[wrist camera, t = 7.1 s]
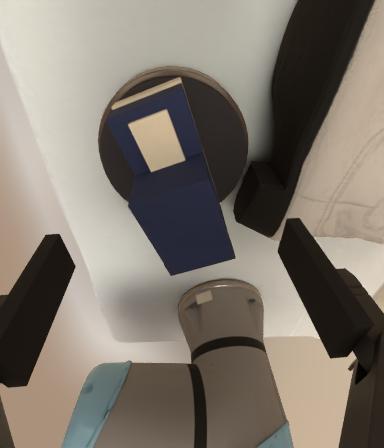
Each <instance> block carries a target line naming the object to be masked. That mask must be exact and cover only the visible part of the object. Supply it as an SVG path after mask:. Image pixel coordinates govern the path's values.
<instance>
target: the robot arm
mask: <svg viewBox="0 0 384 448" xmlns="http://www.w3.org/2000/svg"><path fill="white" fill-rule="evenodd" d="M278 254H279V256H280V258H281V260H282V262H283V264H284V266H285V268H286V270H287V272H288V274H289V276H290V278H291V280H292V282H293V284H294V286H295V288H296V290H297V292H298V294H299V296H300V298H301V300H302V302H303V304H304V306H305V308H306V310H307V312H308V314H309V316H310V318H311V321H312V323H313V325H314V327H315V329H316V331H317V333H318V335H319V337H320V339H321V341H322V343H323V345H324V347H325V349H326V351H327V353H328V355H329V357H330V358H340V357H347V356H348V355H349V354H350V353H351V352H352V351H353V352H354V354H355V356H356V357H357V359H356V360H355V361H354V362H353V363H352V364H351V365H350V367H349V368H348V370H350V371H351V370H352V369H353V368H354V369H353V375H352V379H351V385H350V390H349V395H348V401H347V406H346V411H345V417H344V422H343V428H342V433H341V438H340V443H339V448H384V313H383V312H382V311H381V309H380V308H379V307H378V305H377V304H376V303H375V301H374V300H373V299H372V298H371V296H370V295H368V292H367V291H366V290H365V288H364V287H362V285H361V283H360V282H359V281H358V279H357V278H356V277H355V276H354V275H353V274H352V273H350V272H349V271H348V270H346V269H345V268H344V269H335V267H334V266H333V265H332V263H331V262H330V260H329V259H328V258H327V256H326V255H325V253H324V252H323V250H322V249H321V248H320V246H319V245H318V243H317V242H316V241H315V239H314V238H313V236H312V235H311V233H310V232H309V231H308V229H307V228H306V226H305V225H304V224H303V222H302V221H301V219H300V218H287V219H286V222H285V226H284V230H283V233H282V237H281V241H280V244H279V248H278ZM74 269H75V264H74V262H73V260H72V258H71V256H70V254H69V252H68V250H67V248H66V246H65V244H64V242H63V240H62V238H61V236H60V234H51V235H45V237H44V238H43V240H42V242H41V243H40V245H39V247H38V248H37V250H36V251H35V253H34V254H33V256H32V258H31V259H30V261H29V262H28V264H27V266H26V267H25V269H24V270H23V272H22V274H21V275H20V277H19V279H18V280H17V282H16V283H15V285H14V286H13V288H12V290H11V291H10V293H9V294H8V295H1V296H0V383H2V384H4V385H5V386H7V387H21V386H27V384H28V382H29V379H30V377H31V374H32V372H33V369H34V367H35V365H36V362H37V360H38V357H39V355H40V352H41V350H42V347H43V345H44V343H45V340H46V337H47V335H48V333H49V330H50V328H51V326H52V323H53V321H54V318H55V316H56V313H57V311H58V308H59V306H60V304H61V301H62V299H63V296H64V294H65V291H66V289H67V286H68V284H69V282H70V279H71V277H72V274H73V272H74ZM263 313H264V309H263V302H262V299H261V296H260V293H259V292H258V290H257V289H256V288H255V287H253V286H252V285H250V284H248V283H245V282H241V281H236V280H217V281H211V282H207V283H204V284H201V285H199V286H196V287H194V288H192V289H191V290H189V291H188V292H187V293H186V294H185V295H184V296H183V297H182V298H181V299H180V301H179V304H178V316H179V321H180V324H181V327H182V330H183V332H184V335H185V338H186V340H187V343H188V345H189V348H190V351H191V363H192V364H178V363H131V361H127V362H124V363H103V364H100V365H98V366H97V367H95V368H94V369H93V370H92V371H91V372H90V374H89V375H88V377H87V379H86V381H85V383H84V385H83V387H82V390H81V392H80V395H79V397H78V400H77V403H76V406H75V408H74V411H73V414H72V416H71V419H70V422H69V425H68V428H67V431H66V434H65V437H64V440H63V444H62V447H61V448H294V446H293V442H292V438H291V433H290V429H289V422H288V420H287V419H286V416H285V413H284V409H283V406H282V403H281V399H280V396H279V393H278V389H277V386H276V383H275V379H274V376H273V373H272V370H271V366H270V363H269V360H268V357H267V353H266V350H265V346H264V343H263ZM0 448H15V447H14V443H13V440H12V436H11V432H10V429H9V426H8V422H7V419H6V415H5V411H4V408H3V404H2V401H1V397H0Z"/></svg>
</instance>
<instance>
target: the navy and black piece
mask: <svg viewBox="0 0 384 448" xmlns="http://www.w3.org/2000/svg"><path fill="white" fill-rule="evenodd" d="M100 152H101V160H102V164H103V167H104V170H105V173H106V175H107V177H108V179H109V181H110V183H111V184H112V186H113V187H114V188H115V190H116V191H117V192H118V193H119V194H120V195H121V196H122V197H123V198H124V199H125V200H126V201H127V202H129V204H128V207H129V208H130V210H131V211H132V213H133V215H134V216H135V218H136V219H137V221H138V223H139V224H140V226H141V227H142V229H143V231H144V232H145V234H146V235H147V237H148V239H149V240H150V242H151V243H152V245H153V247H154V248H155V250H156V251H157V253H158V255H159V256H160V258H161V259H162V261H163V263H164V265H165V267H166V269H167V270H168V272H169V273H170V275H171V276H172V275H176V274H180V273H184V272H187V271H191V270H195V269H198V268H202V267H206V266H209V265H213V264H217V263H221V262H224V261H228V260H232V259H235V254H234V250H233V247H232V244H231V241H230V237H229V235H228V231H227V227H226V224H225V220H224V217H223V213H222V209H221V206H220V202H222V201H223V200H224V199H225V198H226V197H227V196H228V195H229V194H230V193H231V192H232V190H233V189H234V188H235V186H236V185H237V183H238V181H239V179H240V177H241V175H242V173H243V169H244V166H245V162H246V156H247V143H246V136H245V132H244V128H243V125H242V123H241V120H240V118H239V116H238V115H237V113H236V111H235V110H234V108H233V107H232V106H231V105H230V103H229V102H228V101H227V100H226V99H225V98H224V97H223V96H222V95H221V94H220V93H219V92H218V91H216V90H215V89H213V88H212V87H210V86H208V85H206V84H204V83H202V82H200V81H197V80H194V79H191V78H186V77H179V76H165V77H158V78H154V79H150V80H147V81H144V82H142V83H140V84H138V85H136V86H134V87H133V88H132V89H130V90H129V91H127V92H126V93H125V94H124V95H123V96H122V97H121V98H120V99H119V100H118V101H117V102H116V103H114V105H113V106H112V109H111V110H110V112H109V114H108V116H107V118H106V120H105V123H104V126H103V129H102V133H101V139H100Z"/></svg>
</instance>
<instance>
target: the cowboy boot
mask: <svg viewBox="0 0 384 448" xmlns="http://www.w3.org/2000/svg"><path fill="white" fill-rule="evenodd" d="M272 102H273V118H274V141H273V152H272V159H271V162H265V161H256V162H251V164H250V166H249V168H248V170H247V172H246V174H245V176H244V179H243V182H242V184H241V187H240V189H239V191H238V194H237V196H236V200H235V204H234V210H233V212H234V216H235V219H236V222H238V223H240V224H242V225H244V226H246V227H248V228H250V229H252V230H254V231H256V232H258V233H260V234H262V235H264V236H266V237H268V238H271V239H273V240H279V241H281V237H282V233H283V230H284V226H285V222H286V219H287V218H300V219H301V221H302V222H303V224H304V225H305V226H306V228H307V229H308V231H309V232H310V233H311V235H312V236H315V237H327V236H329V237H343V238H361V239H364V240H367V241H372V242H376V243H380V244H384V0H298V2H297V4H296V6H295V9H294V11H293V13H292V16H291V18H290V20H289V23H288V26H287V28H286V31H285V34H284V37H283V40H282V43H281V47H280V50H279V53H278V57H277V61H276V65H275V70H274V75H273V83H272Z"/></svg>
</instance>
